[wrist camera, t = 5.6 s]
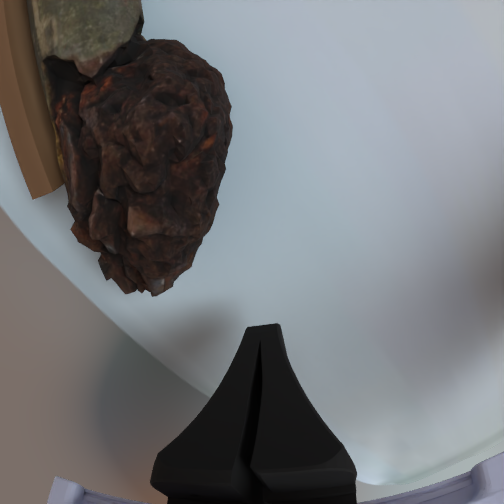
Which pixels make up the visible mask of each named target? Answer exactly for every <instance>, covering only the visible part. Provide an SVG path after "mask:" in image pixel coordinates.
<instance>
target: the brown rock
mask: <svg viewBox="0 0 504 504" xmlns="http://www.w3.org/2000/svg"><path fill="white" fill-rule="evenodd" d="M26 2H27V8H28V15H29V22H30V29H31V36H32V42H33V47H34V52H35V57H36V61H37V66H38V70H39V75H40V79H41V84H42V88H43V91H44V95H45V99H46V102H47V106H48V110H49V114H50V118H51V122H52V124H53V127H54V130H55V135H56V149H57V157H58V162H59V166H60V169H61V172H62V174H63V178H64V182H65V186H66V190H67V193H68V200H69V201H68V202H69V203H68V205H67V207H68V208H69V210H70V212H71V214H72V216H73V218H74V220H75V222H74V224H73V226H72V228H71V231H72V232H73V234H74V235H75V237H76V238H77V240H78V242H79V243H81V244H83V245H85V246H86V247H88V248H89V249H91V250H93V251H95V252H101V256H100V257H99V259H98V262H99V265H100V268H101V270H102V272H103V274H104V277H105V279H106V280H109V279H110V278H112V279H113V280H114V281H115V282H116V284H117V285H118V286H119V287H120V289H121V290H122V291H123V292H124V293H125V294H129V293H132V292H135V291H136V290H137V289H138V291H139V292H141V293H143V292H144V290H147V291H149V292H151V295H152V297H153V296H157V295H159V294H161V293H163V292H165V291H166V290H168V289H169V288H171V287H173V283H174V281H175V280H176V279H177V278H178V277H179V275H181V274H182V273H183V272H185V271H186V270H188V269H189V268H190V267H191V266H192V263H193V260H194V257H195V254H196V252H197V249H198V247H199V246H200V245H201V244H202V240H203V237H204V236H205V235H206V234H207V233H208V232H209V230H210V228H211V226H212V224H213V221H214V217H215V213H216V211H217V208H218V206H219V202H218V200H217V194H218V190H219V186H220V183H221V180H222V178H223V176H224V173H225V170H226V167H225V164H224V163H225V160H226V157H227V153H228V147H229V144H230V141H231V138H232V129H233V126H232V123H231V120H230V111H231V107H232V106H231V104H230V102H229V99H228V95H227V93H226V91H225V83H224V80H223V77H222V74H221V73H220V72H219V71H218V70H217V69H215V68H214V67H212V66H210V65H209V64H208V63H207V62H206V60H204V59H202V58H201V57H199V56H198V55H196V54H194V53H192V52H191V51H189V50H188V49H187V48H186V47H185V45H183V44H182V43H180V42H179V41H177V40H165V39H150V40H148V41H146V39H145V38H144V37H143V36H142V35H141V33H142V28H143V24H144V17H143V11H142V4H141V0H26Z"/></svg>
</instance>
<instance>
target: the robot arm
mask: <svg viewBox="0 0 504 504" xmlns="http://www.w3.org/2000/svg"><path fill="white" fill-rule="evenodd" d="M356 477H357V471H356V468H355V465H354V463H353V461H352V459H351V458H350V456H349V454H348V452H347V451H346V449H345V447H344V445H343V444H342V443H341V442H340V441H339V440H338V438H337V437H336V436H335V435H334V434H333V433H332V431H331V430H330V429H329V428H328V426H327V425H326V424H325V422H324V421H323V420H322V418H321V417H320V415H319V414H318V413H317V411H316V410H315V408H314V407H313V405H312V404H311V402H310V401H309V399H308V397H307V396H306V394H305V392H304V391H303V389H302V387H301V385H300V383H299V381H298V380H297V377H296V375H295V373H294V371H293V369H292V367H291V365H290V362H289V359H288V357H287V353H286V348H285V344H284V339H283V335H282V330H281V326H280V325H279V324H278V323H275V324H268V325H260V326H252V327H247V328H246V330H245V333H244V336H243V338H242V341H241V344H240V346H239V348H238V351H237V353H236V355H235V357H234V359H233V361H232V363H231V365H230V367H229V369H228V371H227V373H226V375H225V376H224V378H223V380H222V382H221V383H220V385H219V387H218V388H217V390H216V391H215V393H214V394H213V396H212V397H211V399H210V400H209V402H208V403H207V404H206V405H205V407H204V408H203V409H202V411H201V412H200V413H199V414H198V415H197V417H196V418H195V419H194V420H193V421H192V422H191V423H190V424H189V426H188V427H187V428H186V429H185V430H184V431H183V432H182V433H181V434H180V435H179V436H178V437H177V438H175V439H174V440H173V441H172V442H171V443H170V444H169V445H167V446H166V447H165V448H164V449H163V450H162V451H160V452H159V453H158V455H157V457H156V460H155V463H154V466H153V470H152V475H151V480H150V483H151V485H152V486H153V487H154V488H155V489H156V490H158V491H160V492H161V493H163V494H164V495H166V496H167V497H168V502H167V504H504V452H502V453H500V454H497V455H495V456H493V457H491V458H489V459H486V460H484V461H482V462H480V463H478V464H477V465H475V466H474V467H473V468H472V469H471V471H469V472H466V473H464V474H461V475H458V476H456V477H453V478H450V479H447V480H445V481H442V482H438V483H435V484H433V485H429V486H426V487H423V488H419V489H416V490H412V491H409V492H405V493H401V494H397V495H393V496H389V497H385V498H381V499H376V500H371V501H365V502H360V503H357V501H356V485H355V481H356ZM47 504H149V503H143V502H139V501H133V500H129V499H123V498H119V497H115V496H111V495H107V494H103V493H99V492H95V491H92V490H88V489H85V488H84V487H83V486H81V485H79V484H77V483H75V482H73V481H70V480H67V479H64V478H61V477H58V476H56V477H55V479H54V482H53V485H52V488H51V491H50V494H49V497H48V501H47Z"/></svg>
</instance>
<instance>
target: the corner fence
mask: <svg viewBox="0 0 504 504" xmlns="http://www.w3.org/2000/svg"><path fill="white" fill-rule="evenodd" d="M0 105H1V109H2V112H3V116H4V120H5V123H6V126H7V130H8V133H9V136H10V139H11V142H12V145H13V148H14V151H15V154H16V157H17V160H18V163H19V166H20V168H21V171H22V174H23V176H24V179H25V182H26V184H27V187H28V189H29V192H30V194H31V196H32V199H33V200H34V199H36V198H38V197H41V196H43V195H46V194H48V193H51V192H53V191H55V190H56V189H57V188H59V187H60V186H61V185H63V184H64V183H65V182H64V178H63V174H62V172H61V169H60V166H59V162H58V157H57V149H56V135H55V130H54V127H53V124H52V122H51V118H50V114H49V110H48V106H47V102H46V99H45V95H44V91H43V88H42V84H41V79H40V75H39V70H38V66H37V61H36V57H35V52H34V47H33V42H32V36H31V29H30V22H29V15H28V8H27V2H26V0H0Z"/></svg>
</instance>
